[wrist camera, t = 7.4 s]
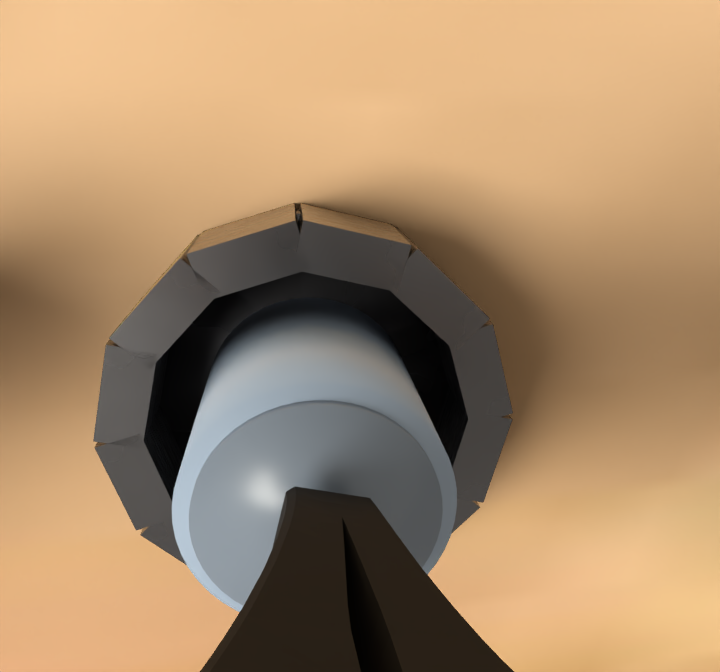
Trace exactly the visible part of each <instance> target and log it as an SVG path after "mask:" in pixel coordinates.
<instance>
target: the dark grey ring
mask: <svg viewBox="0 0 720 672" xmlns="http://www.w3.org/2000/svg"><path fill="white" fill-rule="evenodd" d="M297 298H322V299H328V300H334V301H337V302H341V303H344V304H347V305H349V306H351V307H354V308H356V309H358V310H360V311H361V312H363V313H364V314H366V315H368V316H369V317H370V318H372V319H373V320H374V321H375V322H377V323H378V324H379V325H380V326H381V327H382V328H383V329H384V330H385V332H386V333H387V334H388V335H389V337H390V338H391V340H392V341H393V342H394V344H395V346H396V348H397V350H398V352H399V354H400V356H401V358H402V360H403V362H404V364H405V367H406V369H407V371H408V373H409V375H410V377H411V379H412V381H413V383H414V386H415V388H416V390H417V392H418V394H419V396H420V398H421V400H422V402H423V404H424V407H425V409H426V411H427V413H428V415H429V417H430V419H431V421H432V423H433V426H434V428H435V430H436V432H437V434H438V436H439V438H440V440H441V442H442V444H443V447H444V449H445V451H446V453H447V455H448V457H449V460H450V463H451V466H452V469H453V472H454V476H455V481H456V487H457V509H456V516H455V522H454V526H453V529H452V532H454V531H455V530H456V529H457V528H458V527H459V526H460V525H461V524H462V523H463V522H464V521H466V520H467V519H468V518H469V517H470V516H471V515H472V514H473V513H474V512H475V511H476V510H478V509H479V508H480V507H479V505H478V503H477V501H478V502H484V499H485V496H486V493H487V490H488V488H489V485H490V482H491V479H492V476H493V473H494V470H495V468H496V465H497V462H498V459H499V456H500V453H501V450H502V448H503V445H504V442H505V439H506V436H507V433H508V430H509V428H510V425H511V422H512V418H511V417H510V415H509V414H512V413H513V412H512V407H511V403H510V398H509V394H508V390H507V385H506V381H505V376H504V372H503V367H502V363H501V358H500V354H499V349H498V345H497V340H496V336H495V331H494V327H493V324H492V323H491V322H490V321H489V319H490V318H489V317H488V316H487V315H486V314H485V313H484V312H483V311H482V310H481V309H480V308H479V307H478V306H477V305H476V304H475V303H474V302H473V301H472V300H471V299H470V298H469V297H468V296H467V295H465V294H464V293H463V292H462V291H461V290H460V289H459V288H458V287H457V286H456V285H455V284H454V283H453V282H452V281H451V280H450V279H449V278H448V277H447V276H446V275H445V274H444V273H443V272H442V271H441V270H440V269H439V268H438V267H437V266H436V265H435V264H434V263H433V262H432V261H431V260H430V259H429V258H428V257H427V256H426V255H425V254H424V253H423V252H422V251H421V250H420V249H419V248H418V247H416V246H415V245H414V244H413V243H412V242H411V241H410V240H409V239H408V238H407V237H406V236H405V235H404V234H403V233H402V232H401V231H400V230H399V229H398V228H396V229H395V228H394V226H393V225H392V224H388V223H384V222H380V221H375V220H371V219H367V218H363V217H358V216H354V215H350V214H346V213H341V212H337V211H333V210H329V209H324V208H320V207H316V206H312V205H307V204H303V203H301V204H300V209H296V207H295V204H294V203H293V204H290V205H287V206H284V207H280V208H277V209H274V210H271V211H267V212H264V213H261V214H258V215H254V216H251V217H248V218H245V219H241V220H238V221H235V222H232V223H228V224H225V225H222V226H218V227H215V228H212V229H209V230H205V231H203V232H202V234H201V235H200V236H199V235H197V236H196V238H195V239H194V240H193V241H192V242H191V243H190V244H189V245H188V247H187V248H186V249H185V250H184V251H183V252H182V253H181V254H180V256H179V257H178V258H177V259H176V260H175V261H174V262H173V264H172V265H171V266H170V267H169V268H168V269H167V270H166V271H165V273H164V274H163V275H162V276H161V277H160V278H159V279H158V281H157V282H156V283H155V284H154V285H153V286H152V287H151V288H150V290H149V291H148V292H147V293H146V294H145V295H144V296H143V297H142V299H141V300H140V301H139V302H138V303H137V304H136V306H135V307H134V308H133V309H132V311H131V312H130V313H129V314H128V315H127V317H126V318H125V319H124V320H123V322H122V323H121V324H120V325H119V327H118V328H117V329H116V330H115V331H114V333H113V334H112V335H111V336H110V338H109V339H110V340H109V342H108V343H107V344H106V348H105V356H104V364H103V371H102V379H101V387H100V394H99V402H98V410H97V417H96V425H95V433H94V441H95V442H98V443H97V444H96V446H95V449H96V451H97V453H98V455H99V457H100V459H101V461H102V463H103V465H104V467H105V469H106V471H107V473H108V475H109V477H110V479H111V481H112V483H113V485H114V487H115V489H116V491H117V493H118V495H119V497H120V499H121V501H122V503H123V505H124V507H125V509H126V511H127V513H128V515H129V517H130V519H131V521H132V523H133V525H134V527H135V529H136V530H139V529H142V528H143V529H142V532H141V536H143V537H144V538H146V539H147V540H149V541H151V542H152V543H154V544H155V545H157V546H158V547H160V548H161V549H163V550H164V551H166V552H167V553H169V554H171V555H172V556H174V557H175V558H177V559H178V560H180V561H181V562H183V563H184V564H186V562H185V561H184V559H183V557H182V555H181V553H180V550H179V547H178V545H177V542H176V539H175V534H174V529H173V524H172V500H173V492H174V487H175V484H176V480H177V477H178V473H179V470H180V467H181V464H182V460H183V457H184V454H185V451H186V447H187V444H188V441H189V438H190V435H191V431H192V428H193V425H194V422H195V419H196V415H197V412H198V409H199V406H200V403H201V399H202V396H203V393H204V390H205V387H206V383H207V380H208V377H209V374H210V370H211V367H212V364H213V361H214V359H215V356H216V354H217V352H218V350H219V348H220V347H221V345H222V343H223V342H224V340H225V339H226V337H227V336H228V335H229V334H230V333H231V332H232V330H233V329H234V328H235V327H236V326H237V325H239V324H240V323H241V322H242V321H243V320H244V319H246V318H247V317H249V316H250V315H252V314H253V313H255V312H256V311H258V310H260V309H262V308H264V307H266V306H269V305H272V304H275V303H277V302H281V301H285V300H290V299H297ZM186 565H187V564H186Z"/></svg>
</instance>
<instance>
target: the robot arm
mask: <svg viewBox="0 0 720 672" xmlns="http://www.w3.org/2000/svg"><path fill="white" fill-rule="evenodd" d="M200 672H514V671H513V670H512V669H511V668H510V667H509V666H508V665H507V664H506V663H505V662H503V661H502V660H501V659H500V658H499V656H498V655H497V654H496V653H495V652H494V651H493V650H492V649H491V648H490V647H489V646H488V645H487V644H486V643H485V642H484V641H483V640H482V639H481V637H480V636H479V635H478V634H477V633H476V632H475V631H474V630H473V628H472V627H471V626H470V625H469V624H468V623H467V622H466V621H465V619H464V618H463V617H462V616H461V615H460V614H459V613H458V611H457V610H456V609H455V608H454V607H453V606H452V605H451V603H450V602H449V601H448V600H447V599H446V597H445V596H444V595H443V594H442V592H441V591H440V590H439V589H438V588H437V586H436V585H435V584H434V583H433V581H432V580H431V579H430V578H429V576H428V575H427V574H426V572H425V571H424V570H423V569H422V567H421V566H420V565H419V563H418V562H417V561H416V559H415V558H414V557H413V555H412V554H411V553H410V551H409V550H408V549H407V547H406V546H405V545H404V543H403V542H402V541H401V539H400V538H399V537H398V535H397V534H396V532H395V531H394V530H393V528H392V527H391V526H390V524H389V523H388V521H387V520H386V519H385V517H384V516H383V514H382V513H381V512H380V510H379V509H378V508H377V506H376V505H375V504H374V502H373V501H372V500H371V498H368V497H361V496H354V495H348V494H341V493H335V492H328V491H322V490H315V489H309V488H302V487H293V488H291V489H290V490H288V491H286V493H285V498H284V502H283V506H282V510H281V514H280V518H279V523H278V527H277V531H276V535H275V539H274V543H273V548H272V551H271V553H270V556H269V558H268V560H267V563H266V565H265V567H264V569H263V571H262V573H261V575H260V577H259V578H258V580H257V582H256V584H255V586H254V588H253V589H252V591H251V593H250V595H249V597H248V599H247V600H246V602H245V604H244V606H243V608H242V609H241V611H240V613H239V614H238V616H237V618H236V619H235V621H234V622H233V624H232V626H231V627H230V629H229V630H228V632H227V633H226V635H225V637H224V638H223V640H222V641H221V643H220V644H219V645H218V647H217V648H216V650H215V651H214V653H213V654H212V656H211V657H210V659H209V660H208V661H207V663H206V664H205V666H204V667H203V668H202V670H201V671H200Z"/></svg>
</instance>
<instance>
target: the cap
mask: <svg viewBox="0 0 720 672" xmlns="http://www.w3.org/2000/svg"><path fill="white" fill-rule="evenodd" d="M293 487H302V488H309V489H315V490H322V491H328V492H335V493H341V494H348V495H354V496H361V497H368V498H371V500H372V501H373V502H374V504H375V505H376V506H377V508H378V509H379V510H380V512H381V513H382V514H383V516H384V517H385V519H386V520H387V521H388V523H389V524H390V526H391V527H392V528H393V530H394V531H395V532H396V534H397V535H398V537H399V538H400V539H401V541H402V542H403V543H404V545H405V546H406V547H407V549H408V550H409V551H410V553H411V554H412V555H413V557H414V558H415V559H416V561H417V562H418V563H419V565H420V566H421V567H422V569H423V570H424V571H425V572H426V574H428V573H429V572H430V571H431V569H432V568H433V567H434V566H435V564H436V563H437V561H438V560H439V558H440V556H441V555H442V553H443V551H444V550H445V547H446V545H447V543H448V540H449V538H450V536H451V533H452V529H453V526H454V522H455V516H456V509H457V487H456V481H455V476H454V472H453V469H452V466H451V463H450V460H449V457H448V455H447V453H446V451H445V449H444V447H443V444H442V442H441V440H440V438H439V436H438V434H437V432H436V430H435V428H434V426H433V423H432V421H431V419H430V417H429V415H428V413H427V411H426V409H425V407H424V404H423V402H422V400H421V398H420V396H419V394H418V392H417V390H416V388H415V386H414V383H413V381H412V379H411V377H410V375H409V373H408V371H407V369H406V367H405V364H404V362H403V360H402V358H401V356H400V354H399V352H398V350H397V348H396V346H395V344H394V342H393V341H392V340H391V338H390V337H389V335H388V334H387V333H386V332H385V330H384V329H383V328H382V327H381V326H380V325H379V324H378V323H377V322H375V321H374V320H373V319H372V318H370V317H369V316H368V315H366V314H364V313H363V312H361V311H360V310H358V309H356V308H354V307H351V306H349V305H347V304H344V303H341V302H337V301H334V300H328V299H322V298H297V299H290V300H285V301H281V302H277V303H275V304H272V305H269V306H266V307H264V308H262V309H260V310H258V311H256V312H255V313H253V314H252V315H250V316H249V317H247V318H246V319H244V320H243V321H242V322H241V323H240V324H239V325H237V326H236V327H235V328H234V329H233V330H232V332H231V333H230V334H229V335H228V336H227V337H226V339H225V340H224V342H223V343H222V345H221V347H220V348H219V350H218V352H217V354H216V356H215V359H214V361H213V364H212V367H211V370H210V374H209V377H208V380H207V383H206V387H205V390H204V393H203V396H202V399H201V403H200V406H199V409H198V412H197V415H196V419H195V422H194V425H193V428H192V431H191V435H190V438H189V441H188V444H187V447H186V451H185V454H184V457H183V460H182V464H181V467H180V470H179V473H178V477H177V480H176V484H175V487H174V492H173V500H172V524H173V529H174V534H175V539H176V542H177V545H178V547H179V550H180V553H181V555H182V557H183V559H184V561H185V562H186V564H187V566H188V568H189V569H190V571H191V572H192V573H193V575H194V576H195V577H196V579H197V580H198V581H199V582H200V583H201V584H202V585H203V586H204V587H205V588H206V589H207V590H208V591H209V592H210V593H211V594H212V595H214V596H215V597H216V598H218V599H219V600H220V601H221V602H223V603H224V604H226V605H228V606H230V607H231V608H233V609H235V610H236V611H238V612H240V611H241V609H242V608H243V606H244V604H245V602H246V600H247V599H248V597H249V595H250V593H251V591H252V589H253V588H254V586H255V584H256V582H257V580H258V578H259V577H260V575H261V573H262V571H263V569H264V567H265V565H266V563H267V560H268V558H269V556H270V553H271V551H272V548H273V543H274V539H275V535H276V531H277V527H278V523H279V518H280V514H281V510H282V506H283V502H284V498H285V493H286V491H288V490H290V489H291V488H293Z"/></svg>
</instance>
